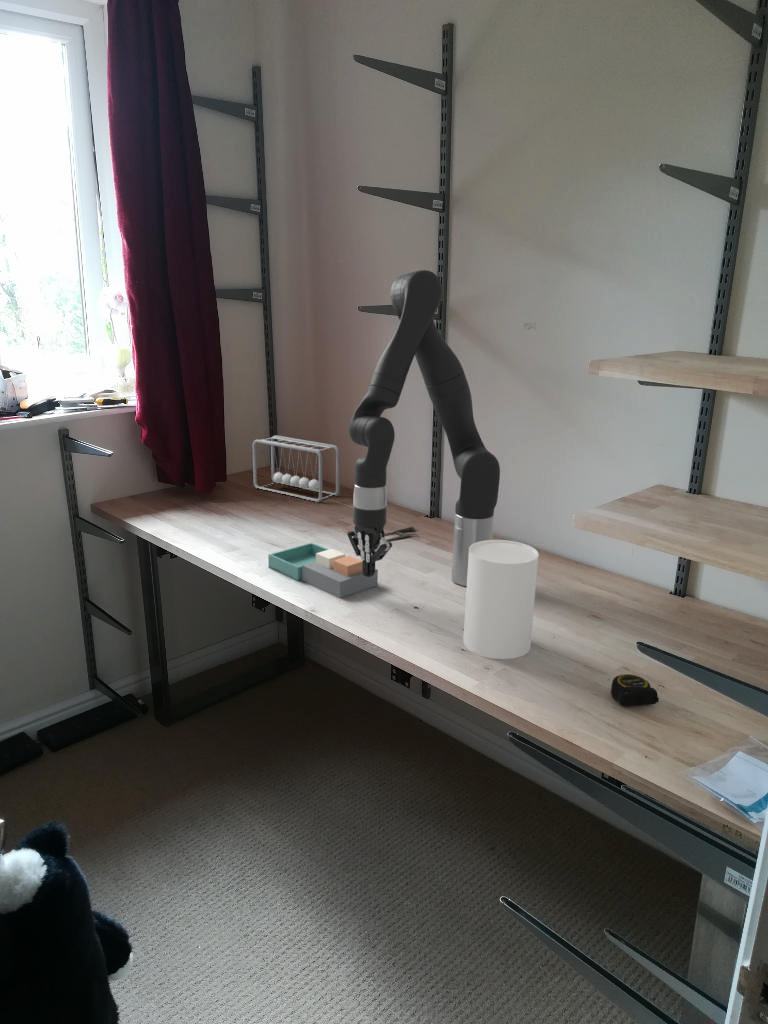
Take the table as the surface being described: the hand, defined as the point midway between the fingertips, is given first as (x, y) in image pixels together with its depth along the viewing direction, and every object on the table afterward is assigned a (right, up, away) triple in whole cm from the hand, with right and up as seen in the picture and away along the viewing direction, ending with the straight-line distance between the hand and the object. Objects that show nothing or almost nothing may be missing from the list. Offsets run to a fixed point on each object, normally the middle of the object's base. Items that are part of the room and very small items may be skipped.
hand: (368, 575), depth 172 cm
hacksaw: (+5, +6, +39) cm, 40 cm away
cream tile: (-10, +2, +10) cm, 14 cm away
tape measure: (+48, -19, -40) cm, 65 cm away
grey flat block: (-7, -2, +8) cm, 11 cm away
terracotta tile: (-5, +1, +5) cm, 7 cm away
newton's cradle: (-27, +21, +85) cm, 91 cm away
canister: (+27, -12, -20) cm, 36 cm away
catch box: (-17, +1, +18) cm, 24 cm away
